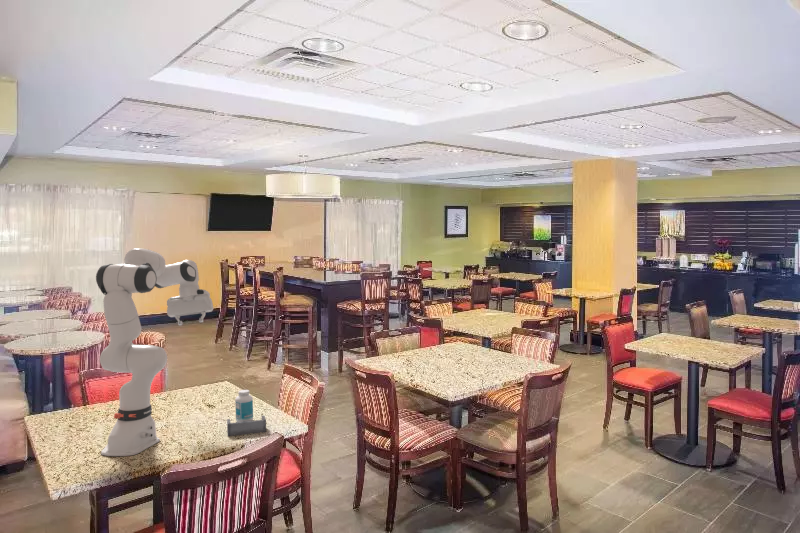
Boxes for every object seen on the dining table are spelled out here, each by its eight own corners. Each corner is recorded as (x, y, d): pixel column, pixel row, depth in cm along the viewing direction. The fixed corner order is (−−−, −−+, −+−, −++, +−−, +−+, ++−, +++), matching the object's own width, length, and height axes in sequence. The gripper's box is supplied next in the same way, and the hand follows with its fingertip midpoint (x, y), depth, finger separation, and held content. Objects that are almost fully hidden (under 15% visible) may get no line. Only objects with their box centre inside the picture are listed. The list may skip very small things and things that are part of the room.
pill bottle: (255, 418, 252) (255, 389, 252) (249, 424, 245) (249, 393, 244) (239, 418, 253) (239, 388, 252) (233, 423, 246) (232, 393, 245)
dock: (266, 431, 235) (266, 420, 235) (227, 436, 230) (227, 424, 230) (264, 426, 241) (264, 415, 241) (227, 430, 236) (227, 419, 236)
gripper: (164, 296, 257) (165, 325, 252) (209, 289, 258) (211, 318, 254) (169, 299, 263) (170, 328, 258) (213, 293, 264) (215, 321, 260)
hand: (190, 323), depth 256 cm, fingers open, 8 cm apart
